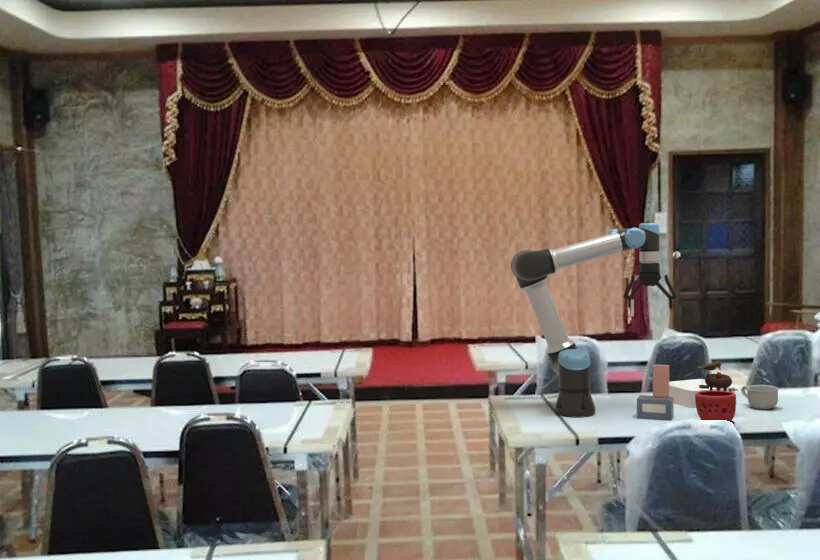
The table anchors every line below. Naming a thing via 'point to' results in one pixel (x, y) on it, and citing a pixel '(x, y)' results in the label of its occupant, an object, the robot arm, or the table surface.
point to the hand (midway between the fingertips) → (650, 316)
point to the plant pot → (716, 412)
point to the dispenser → (655, 407)
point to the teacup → (761, 396)
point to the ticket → (661, 380)
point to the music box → (716, 378)
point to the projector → (688, 391)
